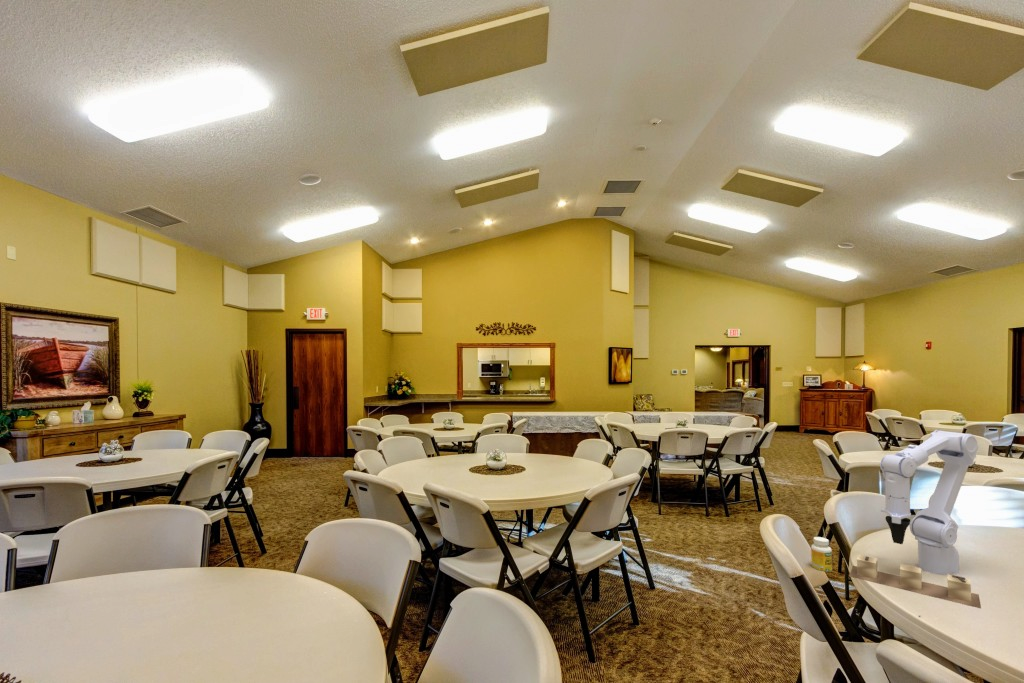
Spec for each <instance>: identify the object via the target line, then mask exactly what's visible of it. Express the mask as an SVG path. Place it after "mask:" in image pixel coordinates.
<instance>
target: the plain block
mask: <svg viewBox="0 0 1024 683" xmlns="http://www.w3.org/2000/svg"><path fill="white" fill-rule="evenodd" d="M899 576H900V585H902V586H906V587H910V588H914V589H918V590H921V588H922V582H923V580H922V569H921V568H919V567H916V566H913V565H912V566H911V565H907V564H902V563H901V564H900V567H899Z"/></svg>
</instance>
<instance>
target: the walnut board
mask: <svg viewBox="0 0 1024 683" xmlns="http://www.w3.org/2000/svg"><path fill="white" fill-rule="evenodd" d="M877 572H878V575H877V578H876V579H873V578H869V577H864V576H860V575H857V565H853V566H852V568H851V570H850V571H849V574H848V577H850V578H855V579H858V580H862V581H866V582H870V583H873V584H874V583H875V584H879V585H883V586H886V587H891V588H896V589H899V590H904V591H907V592H912V593H916V594H920V595H924V596H928V597H932V598H936V599H939V600H944V601H949V602H952V603H957V604H961V605H965V606H969V607H974V608H977V609H982V606H981V605H982V604H981V601H980V600H981V599H980V595H979V594H978V593H973V592H971V602H968V601H964V600H960V599H955V598H951V597H948V586H943V585H939V584H934V583H930V582H926V581H922V588H921V590H918V589H914V588H910V587H906V586H902V585H900V575H897V574H891V573H887V572H882V571H880V570H877Z"/></svg>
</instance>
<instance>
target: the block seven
mask: <svg viewBox="0 0 1024 683" xmlns="http://www.w3.org/2000/svg"><path fill="white" fill-rule="evenodd" d="M946 577H947V587H948V597H951V598H955V599H960V600H964V601H968V602H971V593H972V585H971V579H970V578H967V577H962V576H958V575H953V574H947V575H946Z"/></svg>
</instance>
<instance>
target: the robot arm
mask: <svg viewBox="0 0 1024 683" xmlns="http://www.w3.org/2000/svg"><path fill="white" fill-rule="evenodd" d="M978 444H979V443H978V441H977V438H976V437H975V436H974V434H972V433H962V432H954V431H947V430H945V431H944V430H940V429H935V430H934V431H932V432H930V433H929V438H927V439H926V440H924V441H923V442H921V444H919V445H917V444H909V445H907V446H906V447H905V448H904V449H902V450H898V451H897V452H896V453H894V454H886V455H884V456H883V457H882V458H881V460H880V463H879V467H880V470H881V472H882V477H883V479H885V480H884V482H885V489H884V490H885V491H884V492H885V495H884V496H885V508H884V507H881V508H880V512H883V513H885V514H887V516H885V521H886V524H887V525H888V527H889V530H890V534H891V538H892V542H893V543H894V544H899V545H903V544H904V541H905V535H906V530H907V529H908V527H909V530H910V532H911V534H912V536H914V539H915V540H917V555H918V556H917V560H918V564H917V565H918V568H921V571H925V572H927V573H930V574H934V575H942V576H945V575H946V576H947V574H949V575H952V574H960V555H959V552H958V549H957V548H956V546H954V545H955V543H956V542H957V540H958V528H959V525H958V524H957V522H956V521H955V520H954V519H953V518H952V517H951V514H952V512H953V508H954V506H955V503H956V501H957V498H958V496H959V493H960V490H961V488H962V485H963V482H964V480H965V476H966V474H967V471H968V469H969V466H970V465H972V464H973V463H974V461H975V458H976V455H977V453H978V449H979V445H978ZM933 454H935V455H937V457H938V458H939V459H940V460H942V461H943V462H944V465H943V468H942V471H941V473H940V476H939V478H938V481H937V484H936V486H935V488H934V492H933V495H932V497H931V498H930V502H929V505H928V506H927V508H924V509H920V510H918V511H917V512H916V514H915V516H914V517H913V518H912V519H910V518H911V516H912V513H911V485H910V484H911V482H910V481H911V480H910V479H911V478H910V477H913V475H915V471H916V470H917V469H918V467H920V466H922V465H924V464H925V463H927V462H928V461H929V456H932V455H933Z"/></svg>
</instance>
